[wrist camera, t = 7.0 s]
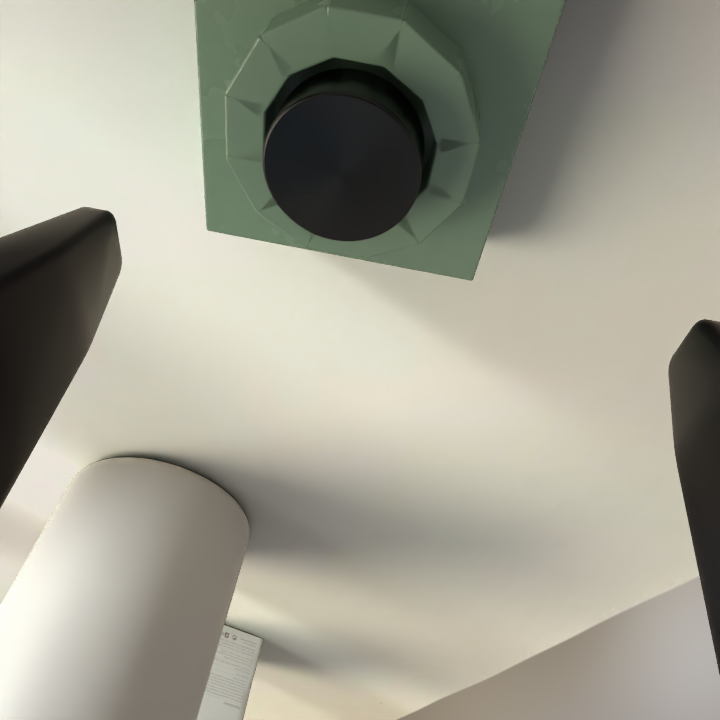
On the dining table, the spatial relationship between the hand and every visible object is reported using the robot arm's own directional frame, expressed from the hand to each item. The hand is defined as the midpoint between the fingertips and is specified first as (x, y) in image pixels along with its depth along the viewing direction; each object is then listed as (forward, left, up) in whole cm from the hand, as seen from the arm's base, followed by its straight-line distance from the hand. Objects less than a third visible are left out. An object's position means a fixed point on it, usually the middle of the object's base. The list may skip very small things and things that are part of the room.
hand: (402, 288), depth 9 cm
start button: (+2, +3, -9) cm, 10 cm away
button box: (+2, +3, -14) cm, 14 cm away
